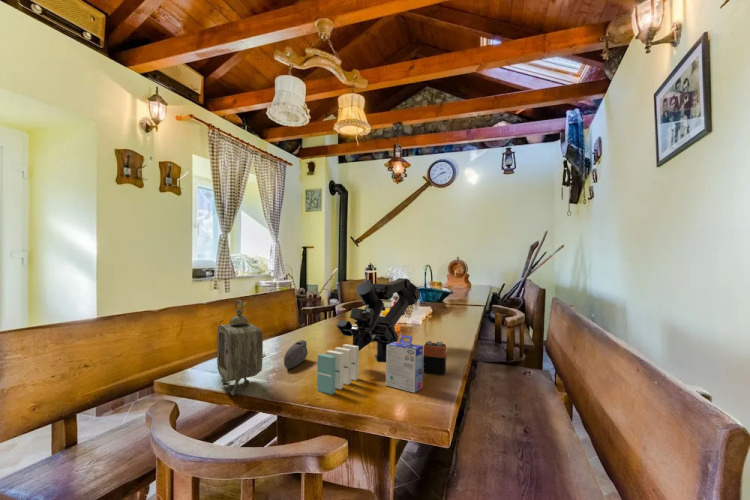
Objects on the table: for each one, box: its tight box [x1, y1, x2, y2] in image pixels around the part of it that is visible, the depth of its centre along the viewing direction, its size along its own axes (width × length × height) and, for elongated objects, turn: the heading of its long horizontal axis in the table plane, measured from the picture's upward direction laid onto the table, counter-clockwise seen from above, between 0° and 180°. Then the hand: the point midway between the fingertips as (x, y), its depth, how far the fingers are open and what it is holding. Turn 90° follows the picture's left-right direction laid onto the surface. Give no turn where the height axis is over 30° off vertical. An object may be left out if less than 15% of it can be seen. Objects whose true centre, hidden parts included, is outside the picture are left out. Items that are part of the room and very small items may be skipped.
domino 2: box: [326, 349, 344, 390], centre depth 96 cm, size 2×5×10 cm, turn 60°
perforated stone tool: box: [283, 339, 308, 370], centre depth 115 cm, size 15×5×7 cm, turn 168°
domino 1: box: [316, 353, 336, 395], centre depth 93 cm, size 2×5×10 cm, turn 60°
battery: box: [423, 340, 447, 376], centre depth 109 cm, size 4×7×10 cm, turn 72°
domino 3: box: [334, 346, 352, 386], centre depth 100 cm, size 2×5×10 cm, turn 60°
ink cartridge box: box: [385, 334, 424, 394], centre depth 97 cm, size 10×6×14 cm, turn 58°
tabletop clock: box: [216, 299, 264, 396], centre depth 95 cm, size 14×9×25 cm, turn 37°
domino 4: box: [342, 343, 360, 381], centre depth 103 cm, size 2×5×10 cm, turn 60°
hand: (353, 353), depth 104 cm, fingers closed
